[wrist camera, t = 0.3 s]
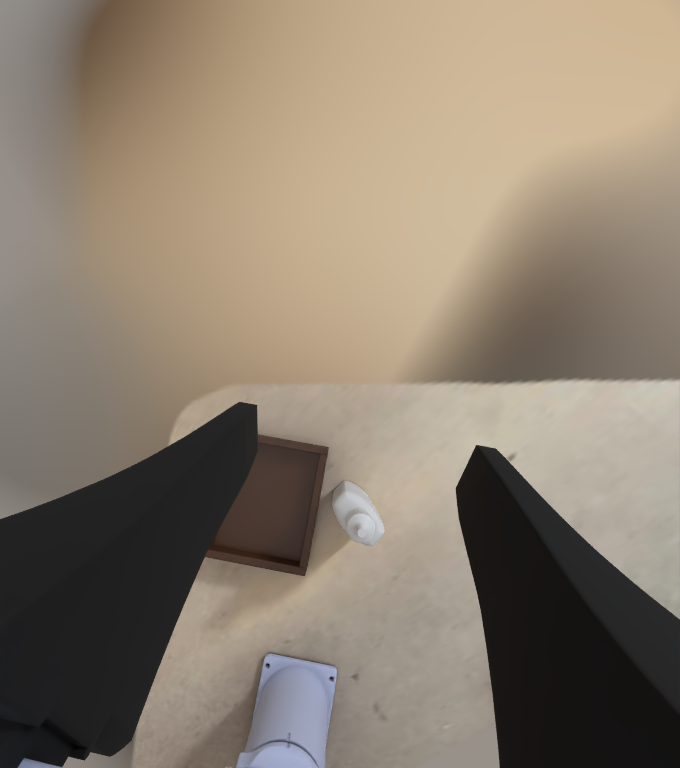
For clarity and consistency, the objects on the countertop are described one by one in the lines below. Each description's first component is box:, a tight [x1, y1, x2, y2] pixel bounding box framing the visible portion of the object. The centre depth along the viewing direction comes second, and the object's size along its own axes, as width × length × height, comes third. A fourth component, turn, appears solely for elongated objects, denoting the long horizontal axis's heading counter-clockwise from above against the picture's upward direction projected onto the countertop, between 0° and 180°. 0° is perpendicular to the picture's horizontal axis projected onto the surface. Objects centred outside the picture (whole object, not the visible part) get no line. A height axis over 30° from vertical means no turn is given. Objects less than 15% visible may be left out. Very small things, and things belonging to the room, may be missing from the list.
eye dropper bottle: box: [332, 481, 384, 546], centre depth 31 cm, size 4×6×12 cm
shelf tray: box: [205, 435, 329, 576], centre depth 35 cm, size 14×12×3 cm
